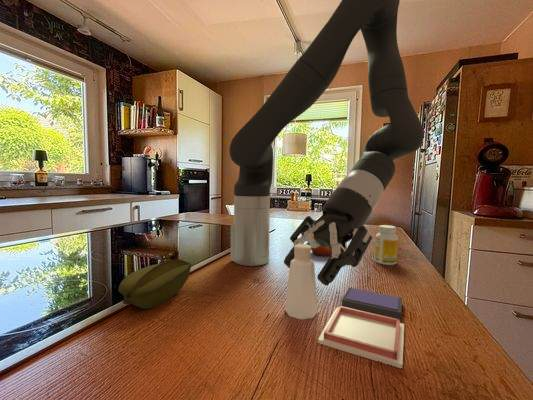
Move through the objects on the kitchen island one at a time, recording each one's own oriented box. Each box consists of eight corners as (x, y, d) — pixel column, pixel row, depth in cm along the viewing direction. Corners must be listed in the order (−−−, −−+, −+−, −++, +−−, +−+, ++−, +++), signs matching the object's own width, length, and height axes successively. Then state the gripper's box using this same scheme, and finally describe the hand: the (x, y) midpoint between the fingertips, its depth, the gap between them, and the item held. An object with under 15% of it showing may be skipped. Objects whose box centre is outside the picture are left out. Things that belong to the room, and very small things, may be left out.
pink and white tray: (317, 343, 36) (318, 333, 36) (336, 310, 45) (336, 303, 44) (402, 368, 31) (402, 358, 31) (404, 327, 40) (404, 318, 40)
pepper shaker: (285, 302, 47) (286, 240, 46) (317, 305, 47) (318, 242, 46) (283, 318, 42) (284, 249, 41) (318, 321, 41) (320, 250, 40)
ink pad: (341, 306, 46) (342, 298, 46) (348, 293, 51) (349, 286, 51) (400, 320, 42) (401, 311, 42) (401, 304, 47) (402, 296, 47)
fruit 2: (337, 245, 82) (337, 225, 78) (335, 265, 76) (334, 245, 72) (311, 243, 85) (309, 223, 81) (306, 262, 79) (304, 242, 75)
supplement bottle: (370, 261, 72) (372, 225, 71) (380, 258, 75) (382, 223, 74) (390, 266, 67) (392, 228, 67) (400, 262, 71) (402, 226, 70)
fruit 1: (126, 291, 51) (124, 257, 51) (191, 283, 56) (190, 251, 55) (117, 321, 41) (115, 278, 40) (198, 308, 45) (197, 269, 45)
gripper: (315, 185, 53) (266, 249, 48) (379, 187, 41) (322, 273, 36) (334, 210, 57) (289, 273, 51) (398, 219, 44) (348, 302, 39)
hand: (303, 273), depth 44 cm, fingers open, 8 cm apart
